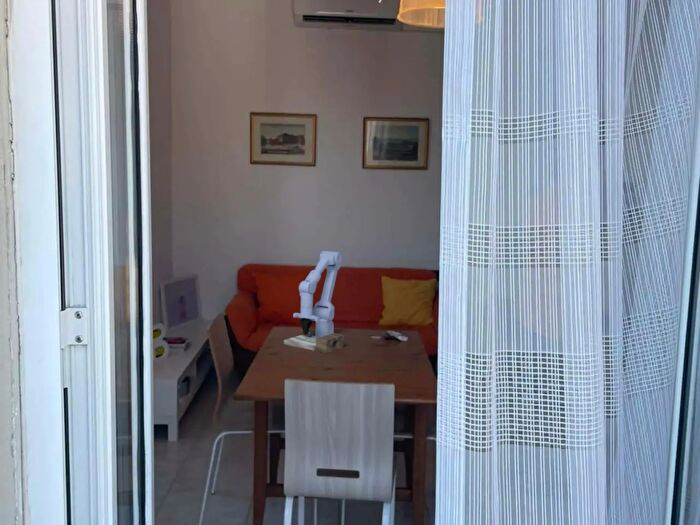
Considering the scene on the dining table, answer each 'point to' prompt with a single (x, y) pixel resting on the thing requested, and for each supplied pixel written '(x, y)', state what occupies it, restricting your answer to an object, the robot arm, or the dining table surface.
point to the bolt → (310, 337)
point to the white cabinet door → (318, 343)
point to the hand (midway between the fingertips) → (305, 334)
